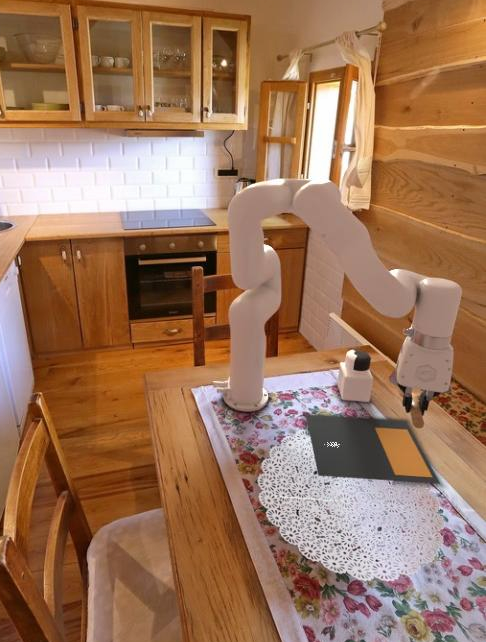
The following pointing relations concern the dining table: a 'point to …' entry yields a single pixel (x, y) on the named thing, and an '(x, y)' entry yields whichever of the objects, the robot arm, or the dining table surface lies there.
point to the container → (355, 377)
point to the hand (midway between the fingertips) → (413, 409)
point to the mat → (368, 449)
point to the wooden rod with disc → (415, 408)
